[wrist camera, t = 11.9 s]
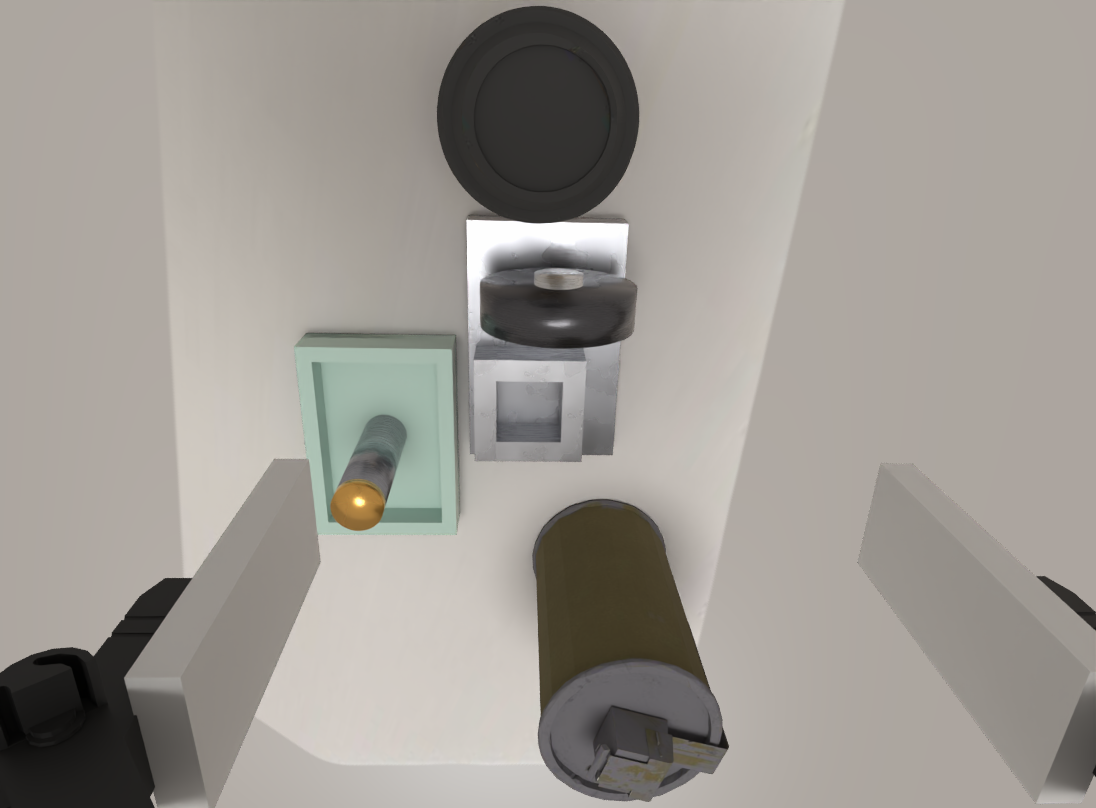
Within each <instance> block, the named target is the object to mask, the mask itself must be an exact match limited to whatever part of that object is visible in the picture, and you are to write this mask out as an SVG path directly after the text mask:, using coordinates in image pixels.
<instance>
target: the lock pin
mask: <svg viewBox="0 0 1096 808" xmlns="http://www.w3.org/2000/svg"><path fill="white" fill-rule="evenodd" d="M406 439H407V432H406V429H405V427H404V425H403V424H402V422H401V421H400V420H398V419H397V418H395V417H393V416H390V415H378V416H375V417H373V418H371V419H370V420H369V421H368V422H367V423H366V425H365V427H364V430H363V432H362V434H361V436H360V438H359V441H358V443H357V445H356V447H355V449H354V452H353V454H352V456H351V458H350V460H349V463H348V465H347V467H346V469H345V471H344V474H343V476H342V478H341V480H340V482H339V485H338V487H337V489H336V491H335V493H334V496H333V498H332V500H331V504H330V509H331V513H332V516H333V518H334V519H335V520H336V521H337V522H338V523H339V524H340V525H341V526H343V527H345V528H347V529H350V530H354V531H363V530H368V529H370V528H372V527H374V526H375V525H377V524H378V523H379V521H380V520H381V518H382V515H383V512H384V509H385V506H386V503H387V500H388V496H389V493H390V490H391V487H392V484H393V480H394V477H395V474H396V471H397V468H398V464H399V461H400V458H401V455H402V452H403V449H404V445H405V442H406Z"/></svg>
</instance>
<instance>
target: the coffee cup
mask: <svg viewBox="0 0 1096 808" xmlns="http://www.w3.org/2000/svg"><path fill="white" fill-rule="evenodd" d="M437 123H438V132H439V138H440V142H441V146H442V149H443V152H444V155H445V158H446V160H447V162H448V165H449V167H450V168H451V170H452V172H453V174H454V175H455V177H456V178H457V180H458V181H459V183H460V184H461V185H462V187H463V188H464V189H465V190H466V191H467V192H468V193H469V194H470V195H471V196H472V197H473V198H474V199H475V200H476V201H478V202H479V203H480V204H481V205H483V206H484V207H486V208H487V209H489V210H491V211H492V212H494V213H496V214H498V215H500V216H503V217H505V218H508V219H511V220H515V221H519V222H524V223H535V224H542V223H556V222H562V221H566V220H570V219H573V218H575V217H578V216H580V215H582V214H584V213H586V212H588V211H590V210H591V209H593V208H594V207H596V206H597V205H598V204H600V203H601V202H602V201H603V200H604V199H605V198H606V197H607V196H608V195H609V194H610V193H611V192H612V191H613V190H614V188H615V187H616V186H617V184H618V183H619V181H620V180H621V178H622V177H623V175H624V173H625V171H626V169H627V167H628V165H629V162H630V159H631V157H632V154H633V151H634V148H635V144H636V140H637V134H638V127H639V104H638V96H637V91H636V87H635V83H634V80H633V77H632V74H631V72H630V69H629V67H628V65H627V63H626V61H625V59H624V57H623V56H622V54H621V52H620V51H619V50H618V48H617V47H616V45H615V44H614V43H613V42H612V41H611V39H610V38H609V37H608V36H607V35H606V34H605V33H604V32H603V31H601V30H600V29H599V28H598V27H597V26H595V25H594V24H592V23H591V22H589V21H588V20H586V19H584V18H583V17H581V16H579V15H576V14H574V13H572V12H569V11H566V10H562V9H559V8H554V7H546V6H530V7H522V8H517V9H513V10H509V11H506V12H504V13H501V14H499V15H497V16H495V17H493V18H491V19H489V20H488V21H486V22H484V23H483V24H482V25H480V26H479V27H478V28H476V29H475V30H474V31H473V32H472V33H471V34H470V35H469V36H468V37H467V38H466V39H465V40H464V41H463V42H462V44H461V45H460V46H459V48H458V49H457V50H456V52H455V53H454V55H453V57H452V59H451V60H450V62H449V64H448V66H447V69H446V71H445V74H444V76H443V79H442V83H441V87H440V91H439V97H438V105H437Z"/></svg>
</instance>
